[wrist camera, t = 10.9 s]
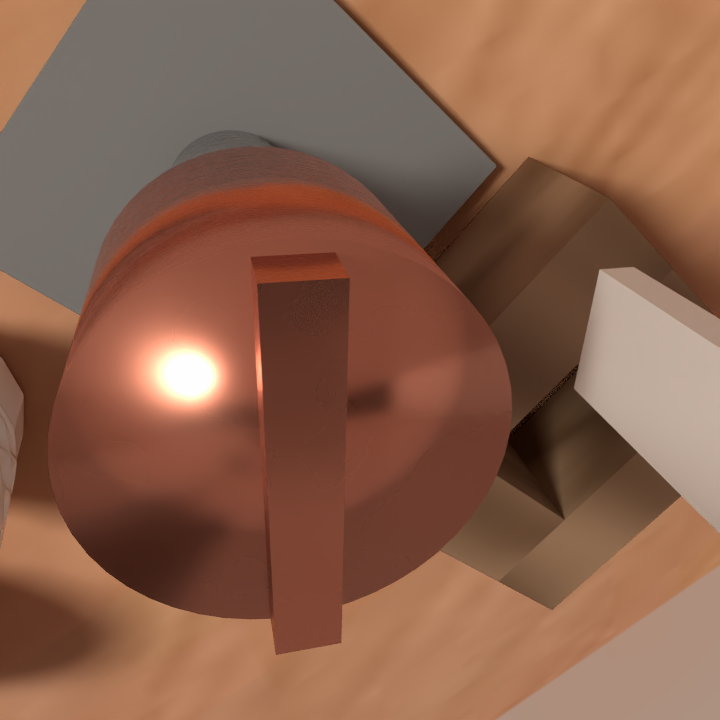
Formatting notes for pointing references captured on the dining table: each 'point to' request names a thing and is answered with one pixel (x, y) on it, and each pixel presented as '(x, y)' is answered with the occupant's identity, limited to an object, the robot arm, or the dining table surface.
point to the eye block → (553, 385)
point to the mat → (211, 121)
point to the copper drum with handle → (271, 394)
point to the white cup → (9, 437)
